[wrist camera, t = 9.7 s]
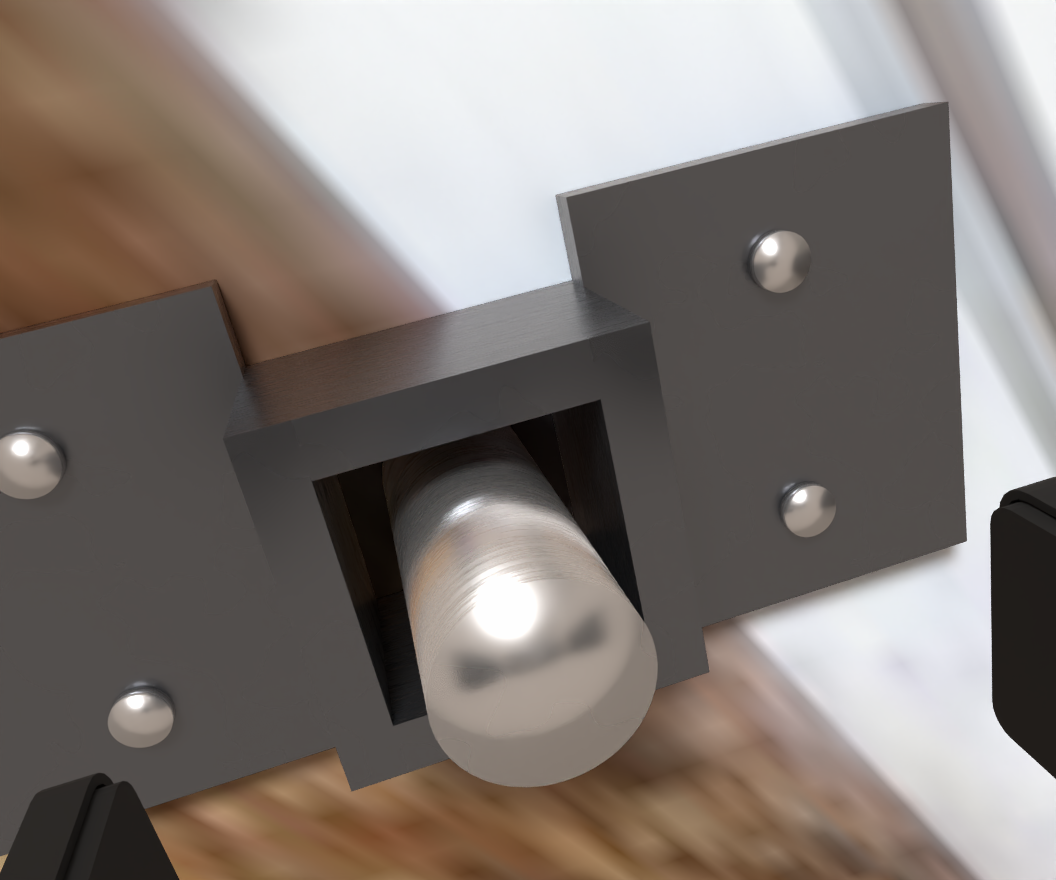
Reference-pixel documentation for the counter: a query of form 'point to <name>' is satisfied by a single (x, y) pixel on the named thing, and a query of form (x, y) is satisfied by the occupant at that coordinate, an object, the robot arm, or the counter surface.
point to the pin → (513, 616)
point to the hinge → (462, 411)
